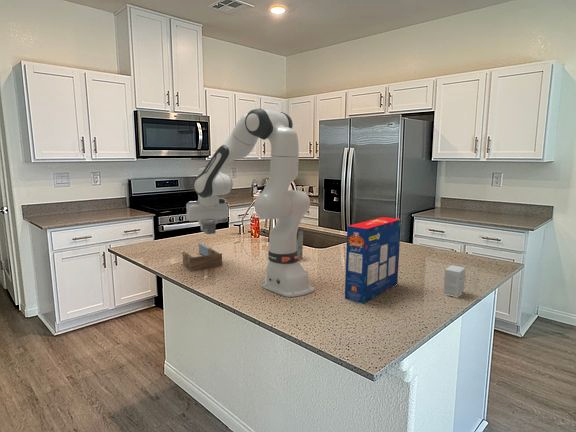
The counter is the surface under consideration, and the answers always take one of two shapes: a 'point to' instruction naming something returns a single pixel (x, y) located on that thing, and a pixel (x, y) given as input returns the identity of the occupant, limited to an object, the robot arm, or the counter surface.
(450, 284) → the small box
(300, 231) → the coffee box
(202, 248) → the rounded end plank
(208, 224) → the dark gray rectangular block
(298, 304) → the counter surface
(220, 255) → the wooden u-shaped block
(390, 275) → the blue red retail box
